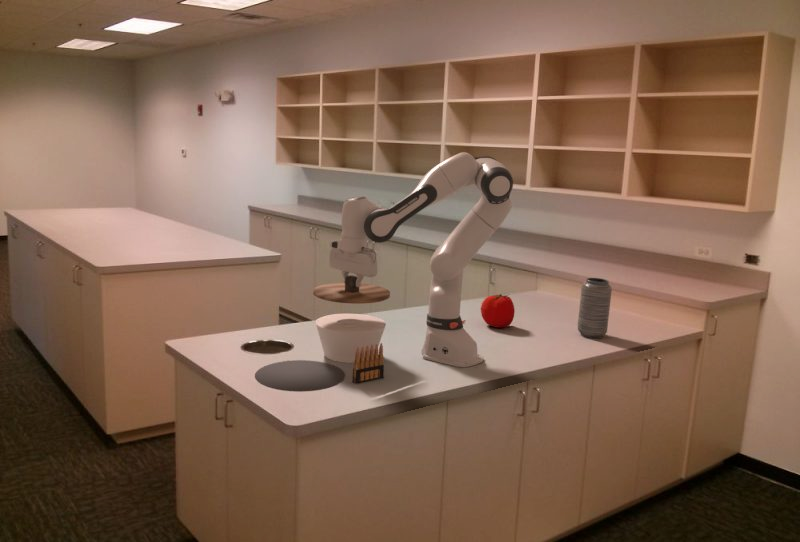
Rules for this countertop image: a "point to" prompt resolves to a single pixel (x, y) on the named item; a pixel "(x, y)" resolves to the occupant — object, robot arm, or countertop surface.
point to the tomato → (498, 310)
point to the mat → (299, 375)
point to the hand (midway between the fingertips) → (352, 285)
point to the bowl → (348, 335)
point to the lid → (351, 292)
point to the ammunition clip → (368, 365)
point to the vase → (594, 307)
